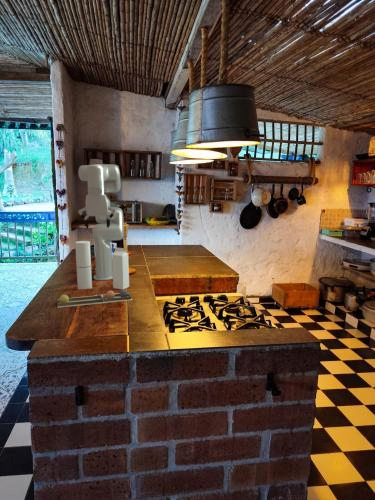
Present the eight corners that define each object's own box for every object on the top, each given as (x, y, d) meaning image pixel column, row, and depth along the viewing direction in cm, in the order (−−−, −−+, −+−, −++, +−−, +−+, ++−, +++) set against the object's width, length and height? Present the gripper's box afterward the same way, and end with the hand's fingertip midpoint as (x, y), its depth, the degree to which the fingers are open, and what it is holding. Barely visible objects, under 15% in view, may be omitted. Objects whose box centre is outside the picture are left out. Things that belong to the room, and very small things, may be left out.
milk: (119, 287, 187) (118, 246, 183) (129, 288, 185) (128, 247, 181) (113, 290, 182) (111, 248, 178) (123, 291, 180) (122, 249, 176)
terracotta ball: (105, 298, 166) (105, 290, 165) (114, 297, 167) (113, 289, 166) (106, 300, 162) (106, 292, 161) (115, 299, 163) (114, 291, 163)
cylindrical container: (77, 291, 179) (74, 243, 174) (78, 287, 186) (75, 241, 181) (92, 290, 181) (89, 242, 176) (92, 286, 188) (89, 240, 183)
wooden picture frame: (57, 301, 160) (57, 299, 160) (101, 297, 166) (101, 295, 166) (57, 306, 154) (57, 303, 154) (103, 301, 161) (103, 299, 160)
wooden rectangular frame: (103, 297, 167) (103, 295, 166) (129, 295, 171) (129, 292, 170) (104, 301, 161) (104, 299, 161) (131, 299, 165) (131, 296, 164)
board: (57, 301, 164) (57, 298, 164) (128, 294, 175) (128, 291, 175) (57, 310, 153) (57, 306, 153) (132, 302, 164) (132, 298, 163)
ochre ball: (59, 302, 159) (59, 294, 159) (69, 301, 161) (68, 293, 160) (59, 305, 156) (59, 296, 155) (69, 304, 157) (68, 295, 156)
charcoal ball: (118, 296, 168) (118, 288, 167) (127, 296, 169) (127, 288, 168) (120, 299, 164) (119, 291, 163) (128, 298, 165) (128, 290, 165)
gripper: (113, 191, 173) (114, 226, 176) (76, 191, 168) (78, 227, 171) (115, 192, 166) (116, 228, 169) (77, 192, 161) (79, 229, 164)
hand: (97, 227), depth 170 cm, fingers open, 9 cm apart
